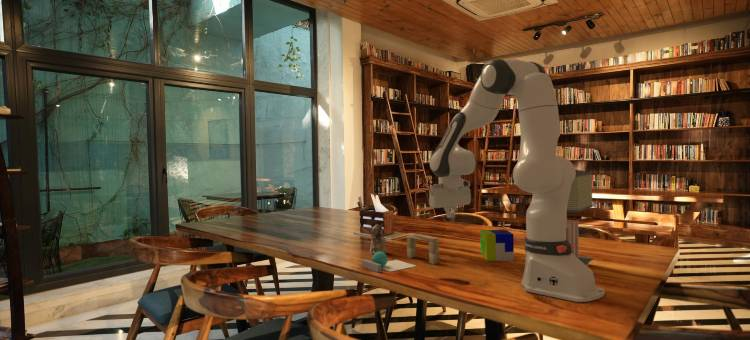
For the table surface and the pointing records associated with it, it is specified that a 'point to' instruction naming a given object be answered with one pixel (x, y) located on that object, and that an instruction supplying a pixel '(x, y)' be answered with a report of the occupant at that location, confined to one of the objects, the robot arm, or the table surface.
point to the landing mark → (396, 265)
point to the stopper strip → (371, 265)
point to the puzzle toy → (497, 245)
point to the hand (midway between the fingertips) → (450, 217)
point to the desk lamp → (578, 209)
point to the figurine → (378, 240)
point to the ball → (380, 258)
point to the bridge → (432, 246)
